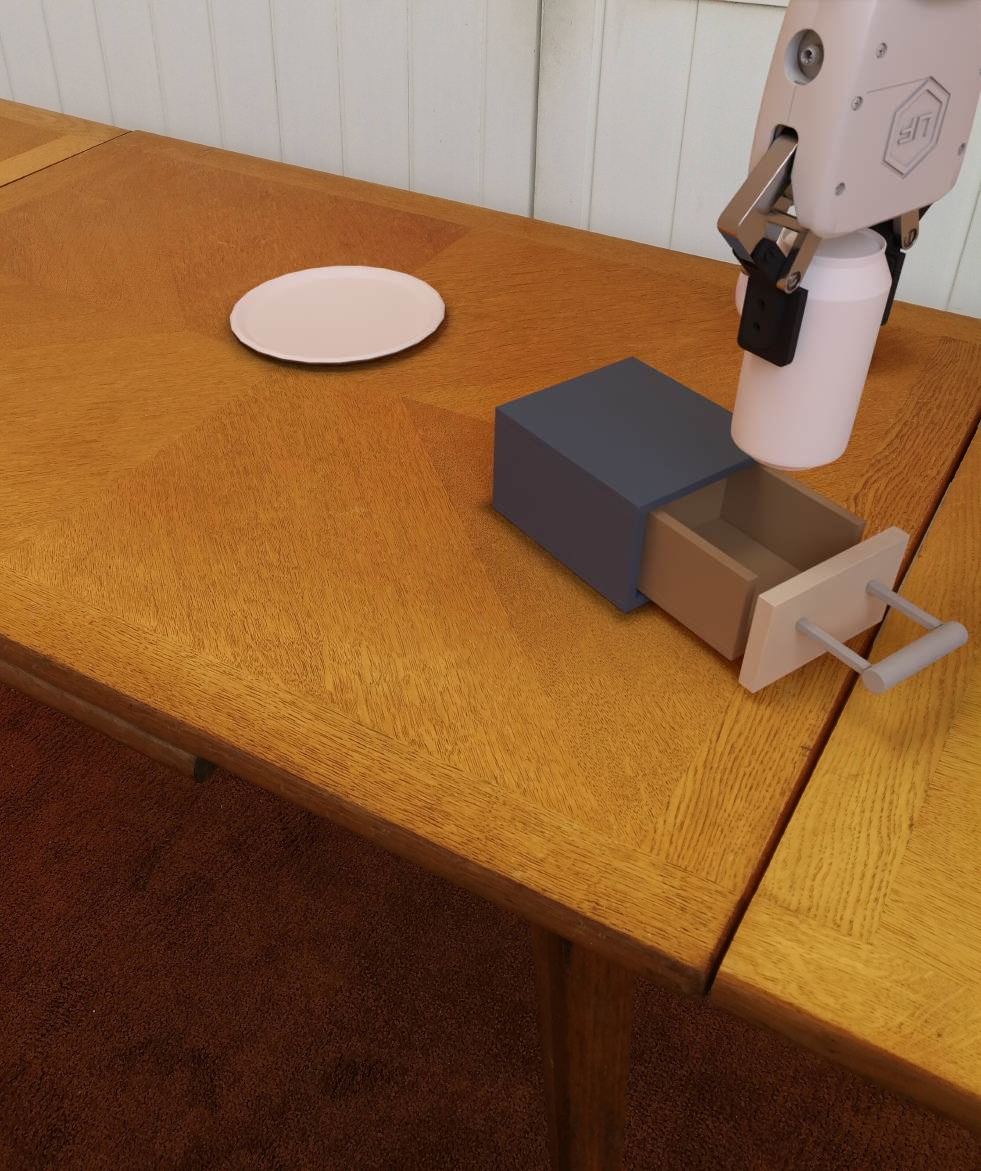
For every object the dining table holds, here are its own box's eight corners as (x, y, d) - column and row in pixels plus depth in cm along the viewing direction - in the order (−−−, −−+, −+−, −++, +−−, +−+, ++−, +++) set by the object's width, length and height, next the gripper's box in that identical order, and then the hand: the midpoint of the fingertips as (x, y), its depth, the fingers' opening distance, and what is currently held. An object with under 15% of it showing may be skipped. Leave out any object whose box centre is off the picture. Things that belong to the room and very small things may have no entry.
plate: (371, 259, 116) (371, 247, 116) (488, 329, 103) (489, 317, 102) (195, 311, 108) (193, 299, 107) (297, 396, 94) (295, 383, 93)
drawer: (969, 678, 64) (1007, 590, 60) (838, 761, 60) (868, 672, 55) (724, 517, 77) (740, 435, 73) (600, 575, 73) (610, 491, 68)
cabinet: (761, 546, 76) (785, 441, 70) (624, 614, 71) (639, 507, 65) (621, 454, 86) (632, 355, 80) (491, 507, 81) (494, 406, 75)
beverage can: (808, 413, 63) (856, 208, 55) (866, 470, 58) (928, 255, 51) (708, 428, 62) (744, 222, 54) (760, 488, 57) (806, 271, 50)
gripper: (834, -22, 38) (747, 418, 50) (1114, -81, 45) (981, 317, 57) (683, -50, 43) (635, 356, 55) (956, -100, 50) (863, 270, 62)
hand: (812, 333), depth 56 cm, fingers closed on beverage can, 6 cm apart
